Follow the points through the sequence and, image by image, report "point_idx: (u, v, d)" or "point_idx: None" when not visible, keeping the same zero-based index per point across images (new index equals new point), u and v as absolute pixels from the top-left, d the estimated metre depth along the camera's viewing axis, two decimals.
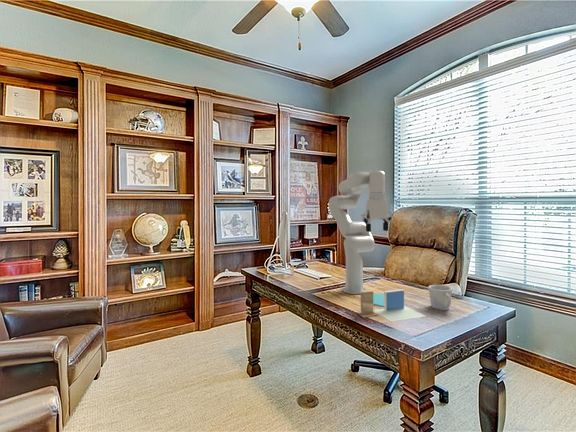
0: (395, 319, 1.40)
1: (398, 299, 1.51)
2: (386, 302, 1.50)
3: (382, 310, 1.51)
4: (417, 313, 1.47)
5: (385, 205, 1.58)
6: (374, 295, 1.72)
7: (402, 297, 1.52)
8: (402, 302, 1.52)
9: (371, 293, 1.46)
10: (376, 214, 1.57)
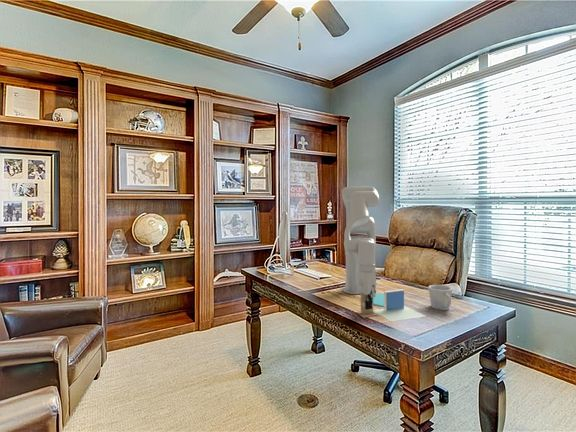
0: (395, 319, 1.40)
1: (398, 299, 1.51)
2: (386, 302, 1.50)
3: (382, 310, 1.51)
4: (417, 313, 1.47)
5: None
6: None
7: (402, 297, 1.52)
8: (402, 302, 1.52)
9: None
10: None
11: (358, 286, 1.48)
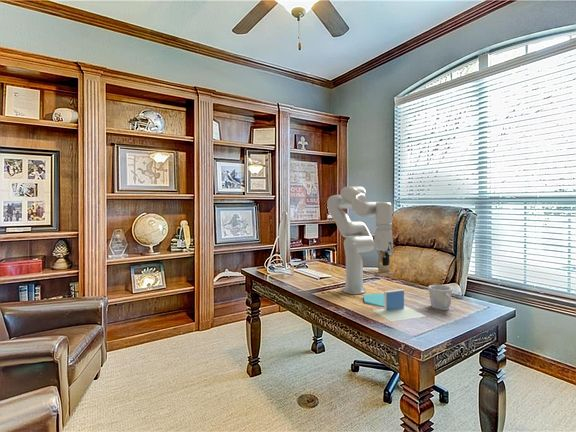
0: (395, 319, 1.40)
1: (398, 299, 1.51)
2: (386, 302, 1.50)
3: (382, 310, 1.51)
4: (417, 313, 1.47)
5: None
6: (374, 295, 1.72)
7: (402, 297, 1.52)
8: (402, 302, 1.52)
9: None
10: None
11: (375, 245, 1.60)
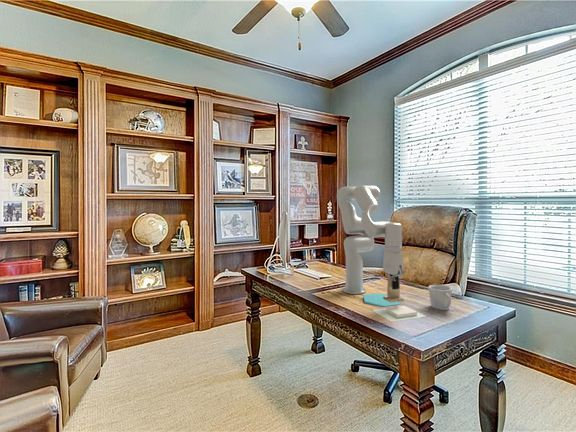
0: (395, 319, 1.40)
1: None
2: (392, 314, 1.46)
3: (382, 310, 1.51)
4: (417, 313, 1.47)
5: None
6: (374, 295, 1.72)
7: None
8: None
9: None
10: None
11: (385, 267, 1.53)
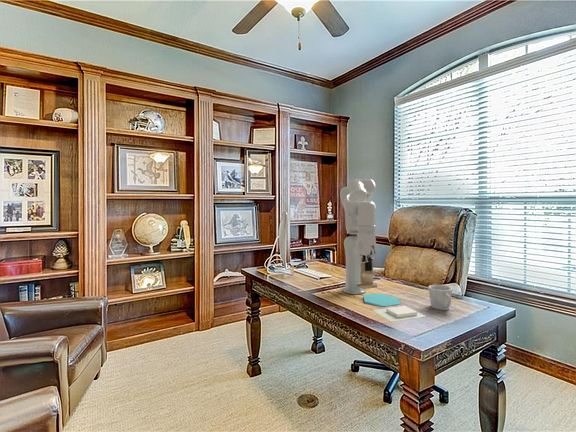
0: (395, 319, 1.40)
1: None
2: (392, 314, 1.46)
3: (382, 310, 1.51)
4: (417, 313, 1.47)
5: None
6: (374, 295, 1.72)
7: None
8: None
9: None
10: None
11: (358, 248, 1.47)
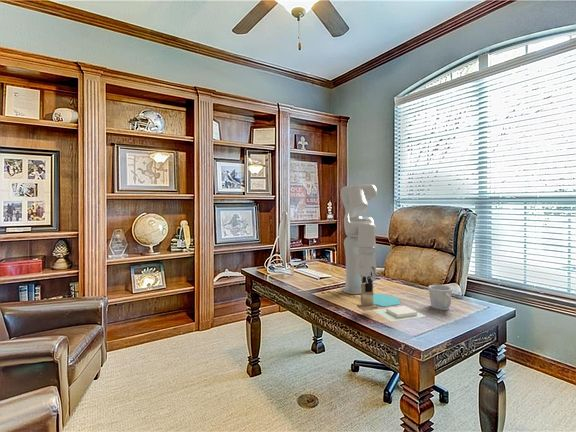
0: (395, 319, 1.40)
1: None
2: (392, 314, 1.46)
3: (382, 310, 1.51)
4: (417, 313, 1.47)
5: None
6: (374, 295, 1.72)
7: None
8: None
9: None
10: None
11: (358, 269, 1.47)
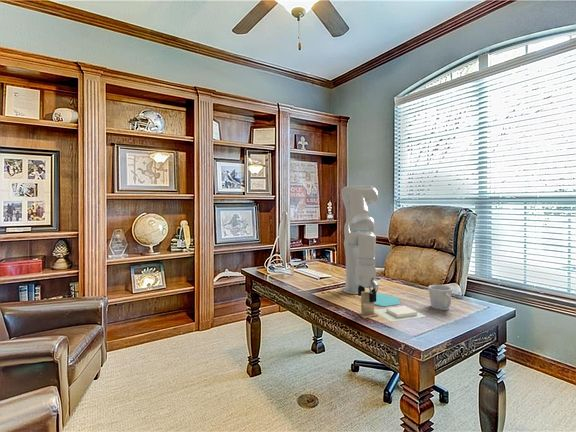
0: (395, 319, 1.40)
1: None
2: (392, 314, 1.46)
3: (382, 310, 1.51)
4: (417, 313, 1.47)
5: None
6: None
7: None
8: None
9: None
10: None
11: (358, 280, 1.48)
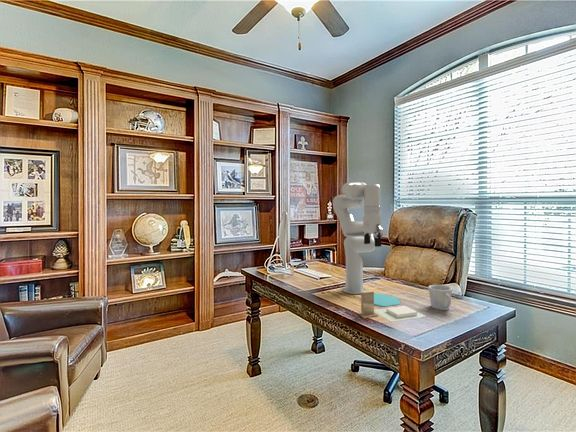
0: (395, 319, 1.40)
1: None
2: (392, 314, 1.46)
3: (382, 310, 1.51)
4: (417, 313, 1.47)
5: None
6: (374, 295, 1.72)
7: None
8: None
9: (372, 293, 1.45)
10: None
11: (364, 228, 1.59)
